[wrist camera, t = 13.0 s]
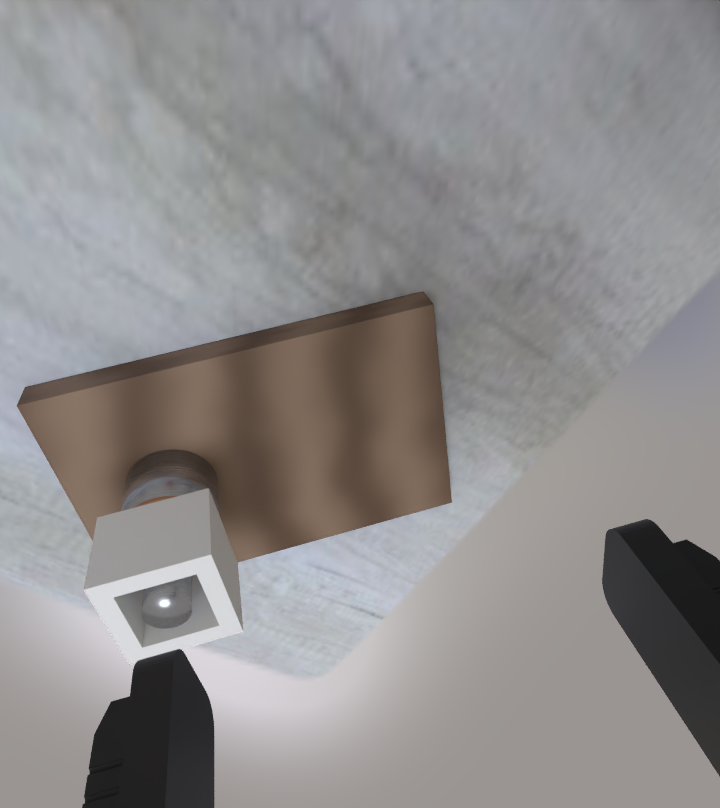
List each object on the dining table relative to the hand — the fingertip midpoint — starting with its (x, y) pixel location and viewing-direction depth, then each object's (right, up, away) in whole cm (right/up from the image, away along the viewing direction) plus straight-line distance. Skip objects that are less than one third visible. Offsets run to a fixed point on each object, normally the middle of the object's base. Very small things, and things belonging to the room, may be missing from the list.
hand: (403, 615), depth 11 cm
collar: (-11, -4, +23) cm, 26 cm away
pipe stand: (-7, +1, +30) cm, 31 cm away
